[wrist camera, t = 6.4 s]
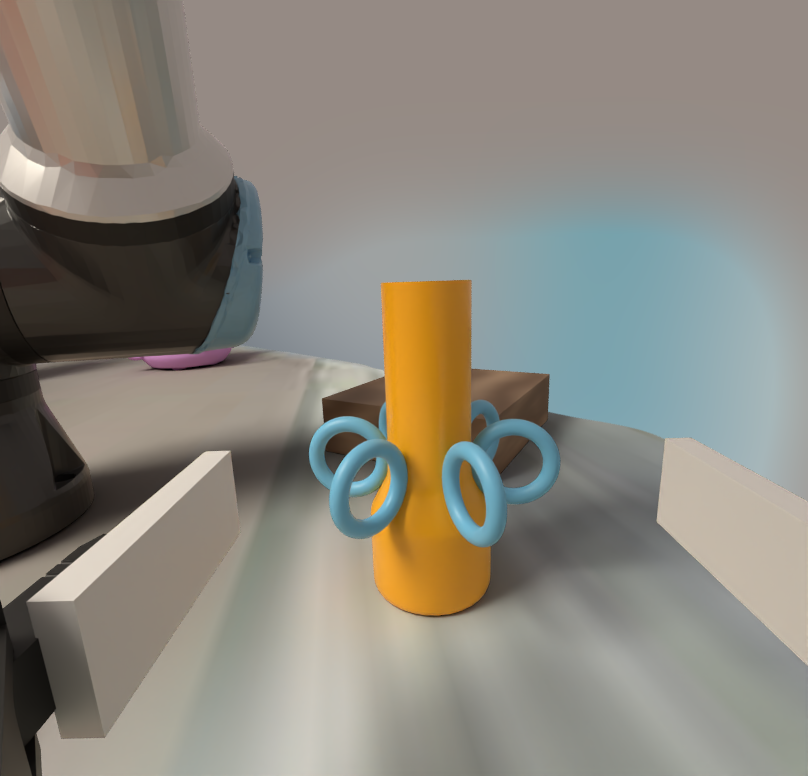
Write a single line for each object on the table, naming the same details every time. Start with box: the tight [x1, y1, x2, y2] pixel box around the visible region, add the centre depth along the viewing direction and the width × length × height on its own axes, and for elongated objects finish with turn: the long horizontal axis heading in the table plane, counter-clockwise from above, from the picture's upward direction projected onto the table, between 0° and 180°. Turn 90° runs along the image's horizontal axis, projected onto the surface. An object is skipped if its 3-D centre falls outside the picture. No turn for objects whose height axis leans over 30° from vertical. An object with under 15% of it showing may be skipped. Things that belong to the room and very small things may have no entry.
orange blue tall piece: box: [309, 280, 560, 616], centre depth 22 cm, size 12×10×15 cm
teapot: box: [129, 347, 234, 370], centre depth 90 cm, size 22×22×14 cm
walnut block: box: [322, 369, 549, 474], centre depth 45 cm, size 16×18×5 cm
